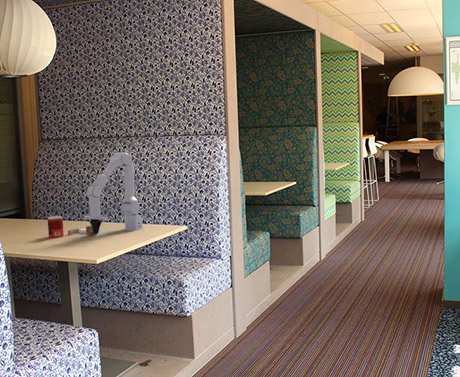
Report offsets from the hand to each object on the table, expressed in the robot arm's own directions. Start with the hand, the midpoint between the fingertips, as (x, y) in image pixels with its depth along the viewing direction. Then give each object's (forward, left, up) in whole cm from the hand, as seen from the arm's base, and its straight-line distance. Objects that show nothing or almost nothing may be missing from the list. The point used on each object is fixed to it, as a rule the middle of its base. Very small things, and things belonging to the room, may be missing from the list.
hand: (96, 233), depth 333 cm
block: (+3, 0, -1) cm, 4 cm away
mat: (+8, -6, -2) cm, 10 cm away
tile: (+8, -6, 0) cm, 10 cm away
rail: (+17, -1, -1) cm, 17 cm away
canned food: (+20, +9, -2) cm, 22 cm away
